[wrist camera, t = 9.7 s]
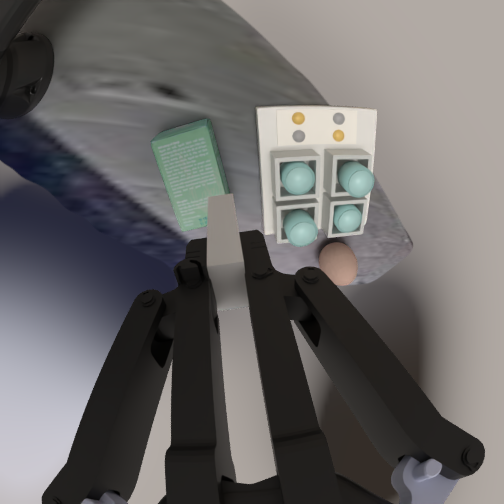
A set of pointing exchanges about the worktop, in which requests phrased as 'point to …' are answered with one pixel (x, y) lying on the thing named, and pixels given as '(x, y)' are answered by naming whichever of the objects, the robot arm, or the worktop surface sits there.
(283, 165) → the button
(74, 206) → the worktop surface
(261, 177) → the board
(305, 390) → the robot arm
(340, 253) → the egg
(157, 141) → the box
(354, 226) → the button
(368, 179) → the button
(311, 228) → the button
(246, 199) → the worktop surface
